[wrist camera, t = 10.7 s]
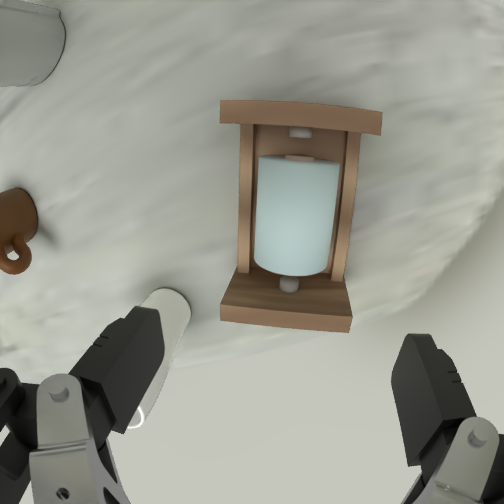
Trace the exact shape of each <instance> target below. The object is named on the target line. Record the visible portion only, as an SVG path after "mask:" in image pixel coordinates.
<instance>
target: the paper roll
mask: <svg viewBox="0 0 504 504" xmlns="http://www.w3.org/2000/svg"><path fill="white" fill-rule="evenodd" d="M339 168H340V164H339V163H336V162H333V161H329V160H325V159H319V158H315V157H313V156H307V155H299V154H285V155H264V156H260V157H259V165H258V186H257V206H256V226H255V246H254V260H255V262H256V263H257V264H258V265H259V266H260V267H262V268H264V269H266V270H268V271H271V272H274V273H277V274H282V275H289V276H307V275H313V274H316V273H319V272H321V271H323V270H324V269H325V268H326V267H327V263H328V257H329V250H330V243H331V236H332V229H333V221H334V213H335V205H336V196H337V187H338V178H339Z"/></svg>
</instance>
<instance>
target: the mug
mask: <svg viewBox="0 0 504 504" xmlns="http://www.w3.org/2000/svg"><path fill="white" fill-rule="evenodd" d="M36 228H37V214H36V210H35V207H34V204H33V202H32V200H31V198H30V197H29V195H28V194H27V193H26V192H25V191H23V190H21V189H18V188H14V189H10V190H7V191H4V192H2V193H0V269H1V270H3V271H4V272H6V273H8V274H14V275H15V274H20V273H22V272H24V271H25V270H26V269H27V268H28V267H29V265H30V263H31V259H32V255H31V250H30V249H29V247H28V246H27V244H26V242H28V241H29V240H30V239H32V237H33V236H34V234H35V232H36ZM13 250H14V251H15V252H16V253H17V254H18V255H19V258H18V259H17V260H10V259H9V258H8V257H7V254H8V253H10V252H12V251H13Z"/></svg>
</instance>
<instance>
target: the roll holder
mask: <svg viewBox="0 0 504 504" xmlns="http://www.w3.org/2000/svg"><path fill="white" fill-rule="evenodd" d="M220 123H238V124H241V130H240V169H239V216H238V266H237V268H236V270H235V272H234V274H233V277H232V279H231V281H230V283H229V285H228V288H227V290H226V292H225V294H224V297H223V299H222V301H221V303H220V320H221V321H229V322H237V323H245V324H254V325H263V326H272V327H282V328H292V329H304V330H316V331H329V332H343V333H349V330H350V326H351V322H352V318H353V316H352V311H351V306H350V302H349V297H348V293H347V288H346V284H345V279H344V275H343V274H344V268H345V262H346V256H347V250H348V243H349V236H350V229H351V222H352V215H353V207H354V198H355V190H356V180H357V170H358V160H359V148H360V135H361V133H367V134H374V135H381V127H382V112H378V111H372V110H365V109H358V108H350V107H342V106H333V105H324V104H313V103H300V102H283V101H257V100H220ZM285 154H299V155H307V156H313V157H315V158H319V159H325V160H329V161H333V162H336V163H339V164H340V168H339V178H338V187H337V196H336V205H335V213H334V221H333V229H332V236H331V243H330V250H329V257H328V263H327V267H326V268H325V269H324V270H323V271H321V272H319V273H316V274H313V275H307V276H289V275H282V274H277V273H274V272H271V271H268V270H266V269H264V268H262V267H260V266H259V265H258V264H257V263H256V262H255V260H254V246H255V226H256V206H257V186H258V165H259V157H260V156H264V155H285Z"/></svg>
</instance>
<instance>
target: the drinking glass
mask: <svg viewBox="0 0 504 504" xmlns="http://www.w3.org/2000/svg"><path fill="white" fill-rule="evenodd" d="M140 307H146V308H152V309H157V310H158V311H159V313H160V319H161V325H162V332H163V338H164V344H165V354H164V358H163V361H162V364H161V366H160V367H159V369H158V371H157V373H156V375H155V377H154V378H153V380H152V382H151V384H150V386H149V388H148V389H147V391H146V393H145V395H144V397H143V399H142V401H141V402H140V404H139V406H138V408H137V410H136V412H135V414H134V416H133V417H132V419H131V421H130V423H129V425H128V427H127V428H137V427H140V426H141V425H142V424H143V423H144V421H145V420H146V418H147V416H148V414H149V413H150V411H151V409H152V407H153V406H154V404H155V402H156V400H157V398H158V396H159V394H160V391H161V389H162V387H163V384H164V382H165V379H166V377H167V374H168V371H169V369H170V366H171V363H172V361H173V358H174V356H175V353H176V350H177V348H178V345H179V343H180V340H181V338H182V335H183V333H184V331H185V328H186V327H187V325H188V323H189V321H190V317H191V310H190V307H189V304H188V302H187V301H186V300H185V298H184V297H183V296H182V295H180V294H179V293H177V292H176V291H174V290H171V289H158V290H155V291H153V292H152V293H151V294H150V295H149V296H148V297H147V298H146V300H145V301H144V302H143V303H142V304H141V305H140Z"/></svg>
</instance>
